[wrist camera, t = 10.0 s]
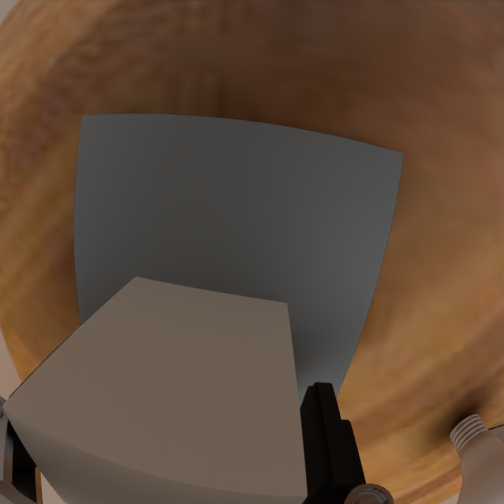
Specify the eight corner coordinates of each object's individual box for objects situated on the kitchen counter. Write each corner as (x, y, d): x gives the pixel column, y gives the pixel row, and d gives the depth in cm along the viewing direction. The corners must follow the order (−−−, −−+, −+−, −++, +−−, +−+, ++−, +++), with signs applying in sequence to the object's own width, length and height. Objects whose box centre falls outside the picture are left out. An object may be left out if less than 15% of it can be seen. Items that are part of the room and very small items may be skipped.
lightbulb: (407, 445, 15) (450, 569, 4) (472, 380, 13) (551, 500, 3) (451, 452, 16) (492, 547, 5) (505, 397, 14) (567, 487, 3)
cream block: (135, 276, 11) (1, 405, 3) (287, 302, 11) (307, 495, 3) (140, 387, 12) (75, 514, 5) (261, 411, 12) (252, 560, 5)
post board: (101, 119, 11) (-52, 95, 3) (388, 155, 10) (545, 152, 3) (114, 425, 16) (68, 515, 8) (295, 459, 15) (300, 565, 8)
